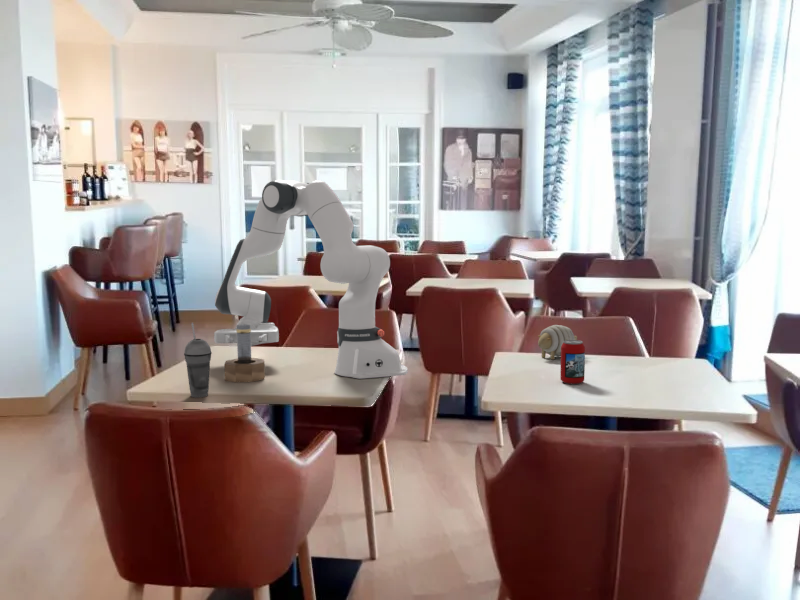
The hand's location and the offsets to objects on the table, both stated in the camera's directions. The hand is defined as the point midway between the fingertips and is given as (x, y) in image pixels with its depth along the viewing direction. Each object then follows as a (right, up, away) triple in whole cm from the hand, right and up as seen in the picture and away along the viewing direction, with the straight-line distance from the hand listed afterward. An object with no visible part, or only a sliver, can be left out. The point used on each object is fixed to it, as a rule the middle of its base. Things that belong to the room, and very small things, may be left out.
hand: (245, 339), depth 236 cm
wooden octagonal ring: (+1, -11, -8) cm, 14 cm away
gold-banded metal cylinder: (+1, -11, -8) cm, 14 cm away
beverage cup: (-7, -14, -29) cm, 33 cm away
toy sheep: (+101, -7, +21) cm, 104 cm away
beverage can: (+98, -12, -17) cm, 100 cm away
